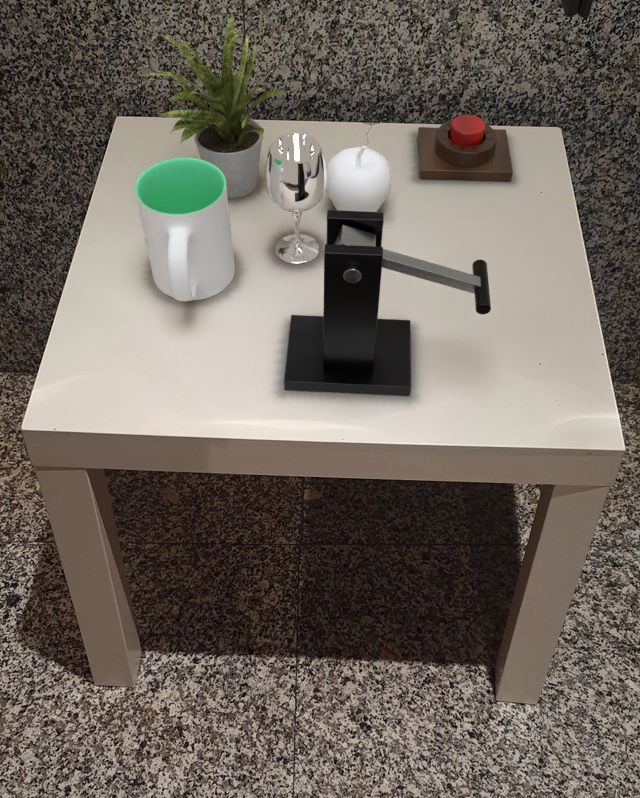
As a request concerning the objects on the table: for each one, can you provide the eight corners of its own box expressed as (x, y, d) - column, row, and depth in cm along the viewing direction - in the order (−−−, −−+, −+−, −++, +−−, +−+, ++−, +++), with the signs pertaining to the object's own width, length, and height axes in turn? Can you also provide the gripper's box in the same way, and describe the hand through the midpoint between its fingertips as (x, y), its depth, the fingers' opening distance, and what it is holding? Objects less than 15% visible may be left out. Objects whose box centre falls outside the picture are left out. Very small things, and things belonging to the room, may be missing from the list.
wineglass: (335, 241, 85) (338, 140, 76) (309, 275, 82) (307, 175, 73) (286, 223, 87) (283, 122, 78) (258, 257, 84) (251, 155, 74)
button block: (504, 138, 96) (508, 115, 94) (511, 181, 92) (516, 158, 89) (417, 135, 97) (419, 113, 94) (419, 179, 92) (422, 156, 89)
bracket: (409, 328, 78) (425, 201, 66) (409, 396, 73) (427, 271, 61) (291, 323, 78) (287, 195, 67) (284, 390, 73) (278, 264, 62)
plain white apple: (347, 238, 86) (349, 174, 79) (311, 200, 89) (311, 136, 83) (403, 215, 88) (409, 150, 82) (366, 179, 92) (369, 115, 85)
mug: (236, 328, 78) (226, 243, 70) (149, 332, 78) (129, 247, 69) (234, 242, 85) (225, 155, 77) (155, 245, 85) (137, 159, 77)
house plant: (170, 138, 96) (147, -3, 83) (290, 136, 97) (286, -5, 84) (159, 219, 87) (132, 75, 75) (291, 217, 88) (287, 73, 75)
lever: (479, 276, 70) (492, 256, 69) (483, 321, 67) (497, 301, 65) (333, 233, 68) (343, 211, 66) (330, 278, 64) (340, 256, 63)
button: (481, 128, 93) (483, 115, 92) (484, 148, 91) (486, 134, 90) (449, 128, 93) (450, 114, 92) (450, 147, 91) (452, 133, 90)
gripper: (526, -302, 44) (474, 32, 59) (812, -298, 44) (689, 37, 58) (511, -337, 49) (467, -19, 63) (770, -333, 48) (666, -15, 63)
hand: (574, 7), depth 61 cm, fingers closed
